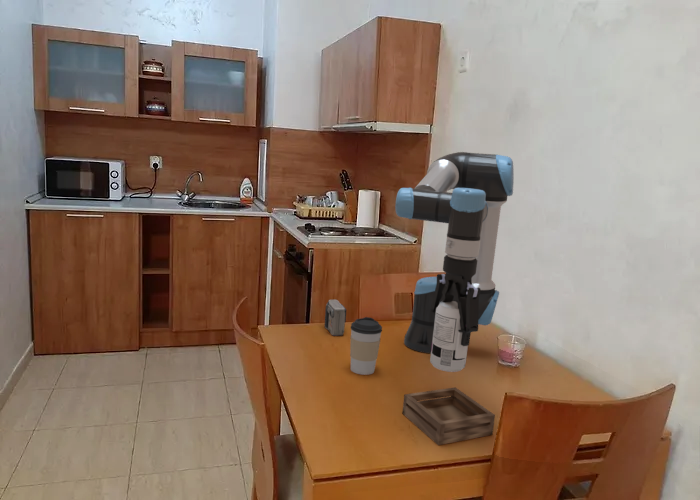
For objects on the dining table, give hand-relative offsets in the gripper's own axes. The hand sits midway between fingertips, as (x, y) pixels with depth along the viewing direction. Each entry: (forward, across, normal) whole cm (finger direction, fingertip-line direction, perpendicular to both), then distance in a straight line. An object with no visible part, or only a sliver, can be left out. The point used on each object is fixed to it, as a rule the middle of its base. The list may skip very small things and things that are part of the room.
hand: (449, 350), depth 132 cm
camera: (+19, -67, +1) cm, 69 cm away
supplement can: (+4, 0, 0) cm, 4 cm away
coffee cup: (+19, -34, -4) cm, 39 cm away
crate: (+18, +1, +1) cm, 18 cm away
